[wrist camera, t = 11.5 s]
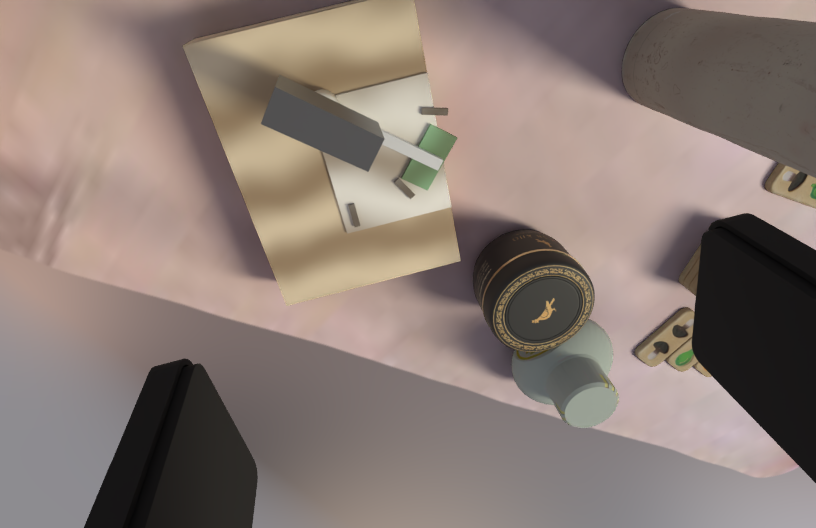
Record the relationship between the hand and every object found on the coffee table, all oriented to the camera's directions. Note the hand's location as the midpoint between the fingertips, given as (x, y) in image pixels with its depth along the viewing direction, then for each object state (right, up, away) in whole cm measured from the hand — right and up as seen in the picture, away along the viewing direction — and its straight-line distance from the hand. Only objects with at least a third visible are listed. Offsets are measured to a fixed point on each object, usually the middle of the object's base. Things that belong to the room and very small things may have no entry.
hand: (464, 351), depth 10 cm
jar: (+10, +1, +43) cm, 45 cm away
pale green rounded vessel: (+15, -7, +49) cm, 52 cm away
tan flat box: (-7, +11, +35) cm, 37 cm away
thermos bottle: (+21, +19, +35) cm, 45 cm away
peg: (-5, +12, +30) cm, 32 cm away
